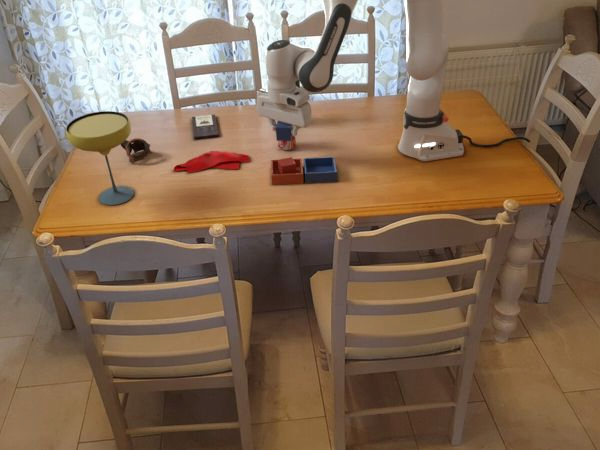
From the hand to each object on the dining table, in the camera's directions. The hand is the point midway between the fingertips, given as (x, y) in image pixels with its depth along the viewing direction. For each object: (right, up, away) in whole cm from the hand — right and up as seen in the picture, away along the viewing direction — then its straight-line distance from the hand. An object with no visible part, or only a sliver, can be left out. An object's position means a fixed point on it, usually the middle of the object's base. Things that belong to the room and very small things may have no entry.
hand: (284, 132), depth 186 cm
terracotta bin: (+1, -14, -2) cm, 15 cm away
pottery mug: (-52, -7, +12) cm, 54 cm away
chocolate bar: (-31, +7, +29) cm, 44 cm away
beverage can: (0, -3, +15) cm, 15 cm away
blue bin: (+12, -14, -1) cm, 18 cm away
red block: (+1, -14, -2) cm, 14 cm away
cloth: (-25, -9, +8) cm, 28 cm away
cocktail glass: (-53, -22, -8) cm, 58 cm away
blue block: (0, -1, +1) cm, 2 cm away
